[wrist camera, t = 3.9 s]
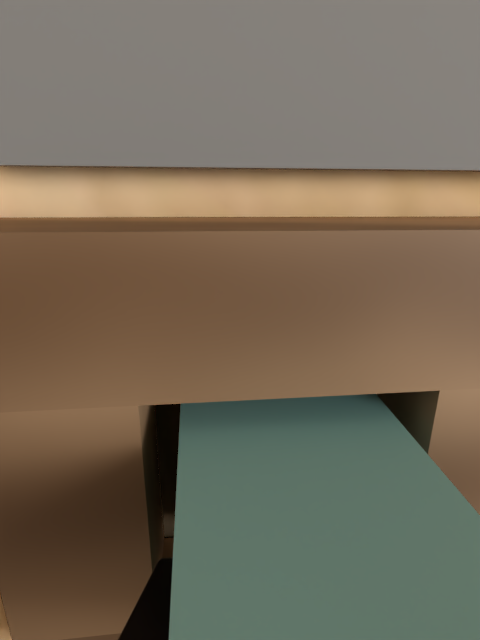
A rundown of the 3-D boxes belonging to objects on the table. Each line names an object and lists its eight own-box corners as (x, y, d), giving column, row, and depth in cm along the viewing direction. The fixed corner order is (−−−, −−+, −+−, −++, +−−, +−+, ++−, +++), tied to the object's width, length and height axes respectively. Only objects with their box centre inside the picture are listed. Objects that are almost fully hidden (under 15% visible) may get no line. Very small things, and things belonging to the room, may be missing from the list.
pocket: (440, 587, 14) (491, 672, 11) (65, 626, 12) (35, 731, 10) (524, 216, 10) (630, 228, 7) (-12, 217, 8) (-91, 233, 6)
